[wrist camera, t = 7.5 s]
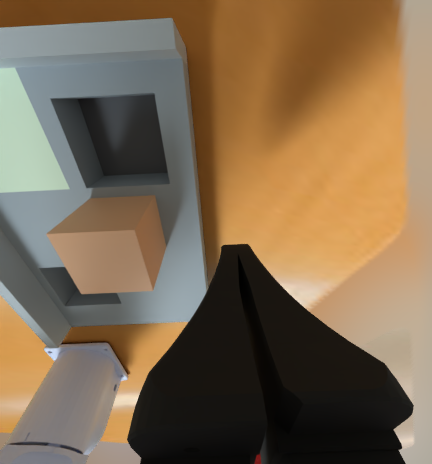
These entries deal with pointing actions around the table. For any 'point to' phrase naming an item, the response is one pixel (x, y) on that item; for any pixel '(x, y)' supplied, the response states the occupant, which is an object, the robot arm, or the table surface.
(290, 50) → the table surface
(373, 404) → the robot arm
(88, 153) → the box
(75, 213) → the block
